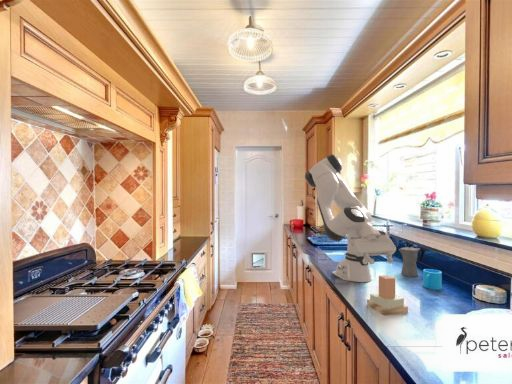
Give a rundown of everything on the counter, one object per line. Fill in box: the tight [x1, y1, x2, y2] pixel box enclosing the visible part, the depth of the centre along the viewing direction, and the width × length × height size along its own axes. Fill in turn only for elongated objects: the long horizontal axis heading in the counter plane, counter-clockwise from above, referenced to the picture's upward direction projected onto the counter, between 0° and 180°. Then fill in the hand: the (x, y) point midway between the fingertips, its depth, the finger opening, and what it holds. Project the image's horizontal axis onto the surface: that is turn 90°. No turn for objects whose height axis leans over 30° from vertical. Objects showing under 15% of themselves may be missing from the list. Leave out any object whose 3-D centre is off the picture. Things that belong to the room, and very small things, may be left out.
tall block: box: [378, 274, 396, 299], centre depth 122 cm, size 4×4×8 cm
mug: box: [422, 268, 443, 291], centre depth 151 cm, size 12×8×8 cm
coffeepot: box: [398, 243, 426, 278], centre depth 175 cm, size 15×9×18 cm, turn 89°
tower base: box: [366, 298, 409, 316], centre depth 123 cm, size 11×11×3 cm
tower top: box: [369, 292, 405, 309], centre depth 122 cm, size 9×9×3 cm
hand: (381, 262), depth 128 cm, fingers open, 8 cm apart
